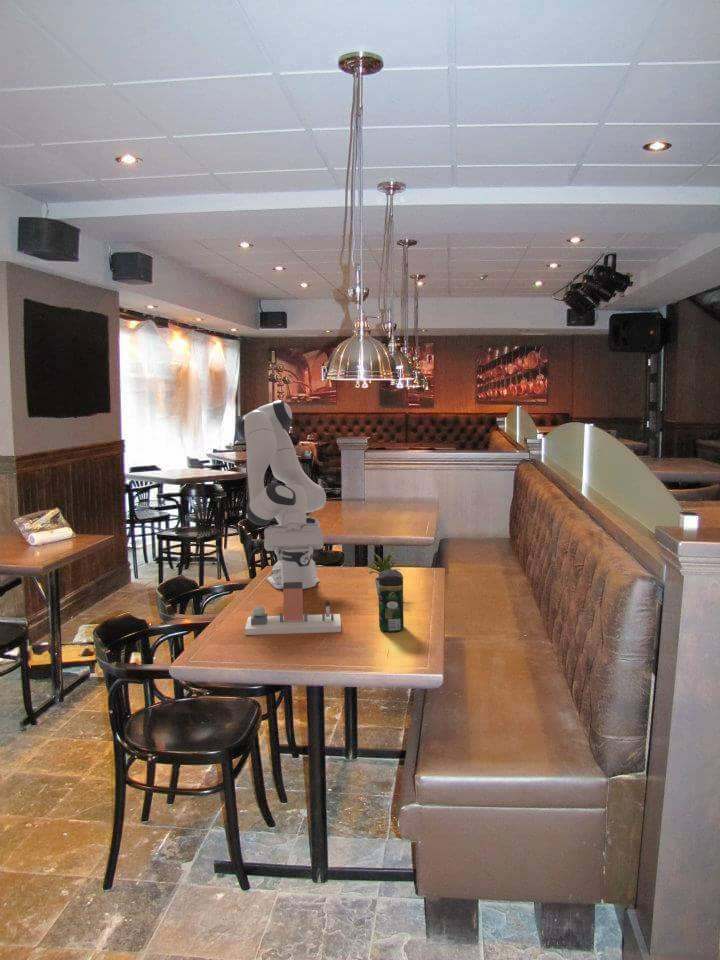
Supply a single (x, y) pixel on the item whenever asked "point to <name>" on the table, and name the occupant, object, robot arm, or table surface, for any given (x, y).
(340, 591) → the table surface
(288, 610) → the paddle
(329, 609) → the toggle lever
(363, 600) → the table surface
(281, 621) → the control panel
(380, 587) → the coffee jar
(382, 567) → the house plant
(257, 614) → the push button
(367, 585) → the table surface
